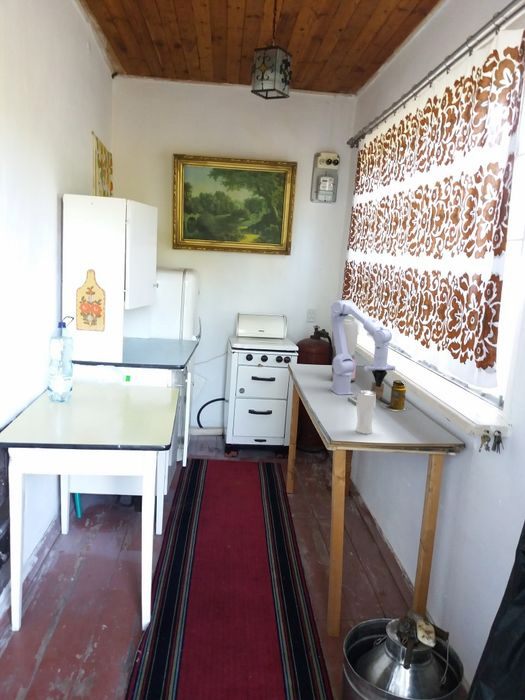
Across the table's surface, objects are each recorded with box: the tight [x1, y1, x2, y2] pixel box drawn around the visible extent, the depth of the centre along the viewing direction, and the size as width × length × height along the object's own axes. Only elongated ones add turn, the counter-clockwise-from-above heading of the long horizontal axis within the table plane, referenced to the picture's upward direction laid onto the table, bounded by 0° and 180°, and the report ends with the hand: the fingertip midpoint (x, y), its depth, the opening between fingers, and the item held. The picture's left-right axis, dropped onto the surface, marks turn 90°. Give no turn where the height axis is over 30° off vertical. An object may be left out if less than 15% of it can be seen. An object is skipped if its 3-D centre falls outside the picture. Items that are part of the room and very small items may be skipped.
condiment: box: [382, 379, 407, 412], centre depth 228 cm, size 7×8×12 cm
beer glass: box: [355, 390, 377, 435], centre depth 195 cm, size 7×7×15 cm
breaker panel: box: [347, 395, 358, 407], centre depth 234 cm, size 10×8×2 cm
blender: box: [330, 318, 359, 382], centre depth 271 cm, size 16×12×32 cm
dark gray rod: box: [378, 397, 390, 405], centre depth 238 cm, size 9×1×1 cm, turn 16°
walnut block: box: [370, 381, 385, 400], centre depth 244 cm, size 4×4×7 cm
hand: (378, 386), depth 235 cm, fingers closed
